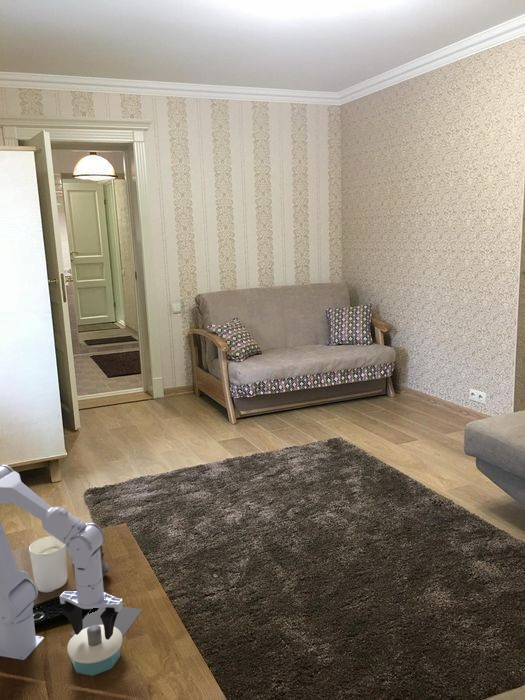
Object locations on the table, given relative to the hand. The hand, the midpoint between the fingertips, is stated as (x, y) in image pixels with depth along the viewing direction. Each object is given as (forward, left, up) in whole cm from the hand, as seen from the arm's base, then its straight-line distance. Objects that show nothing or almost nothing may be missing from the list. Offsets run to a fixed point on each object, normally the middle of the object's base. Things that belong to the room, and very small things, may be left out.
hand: (94, 634), depth 135 cm
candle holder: (-28, +25, -7) cm, 38 cm away
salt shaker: (-16, +30, -7) cm, 35 cm away
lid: (0, 0, -3) cm, 3 cm away
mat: (-4, +12, -7) cm, 15 cm away
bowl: (0, 0, -7) cm, 7 cm away
